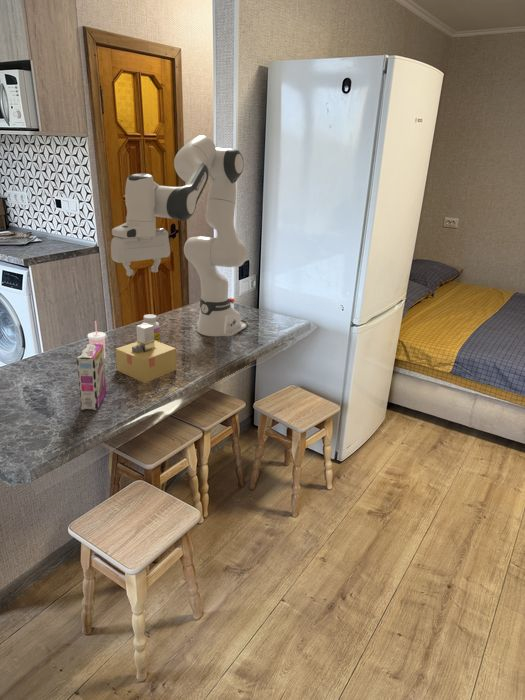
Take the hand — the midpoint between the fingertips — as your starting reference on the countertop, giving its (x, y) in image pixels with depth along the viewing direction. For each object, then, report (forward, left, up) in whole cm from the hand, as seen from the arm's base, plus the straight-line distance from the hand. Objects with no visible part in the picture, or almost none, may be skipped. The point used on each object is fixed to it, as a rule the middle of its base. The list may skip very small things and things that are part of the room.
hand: (142, 273), depth 154 cm
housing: (+1, +1, -33) cm, 33 cm away
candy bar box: (+26, +7, -34) cm, 43 cm away
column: (+1, +1, -33) cm, 33 cm away
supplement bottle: (-13, -13, -33) cm, 38 cm away
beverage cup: (+6, -19, -33) cm, 39 cm away
